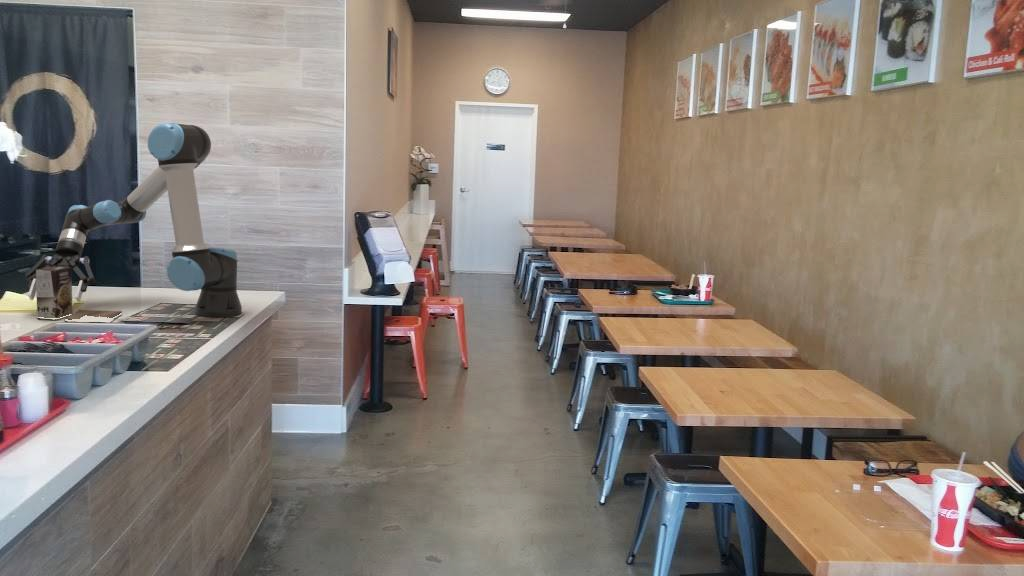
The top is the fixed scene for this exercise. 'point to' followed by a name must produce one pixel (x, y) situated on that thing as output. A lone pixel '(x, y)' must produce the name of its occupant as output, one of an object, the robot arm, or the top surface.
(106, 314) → the walnut board
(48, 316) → the coffee box
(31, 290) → the robot arm
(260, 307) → the top surface
